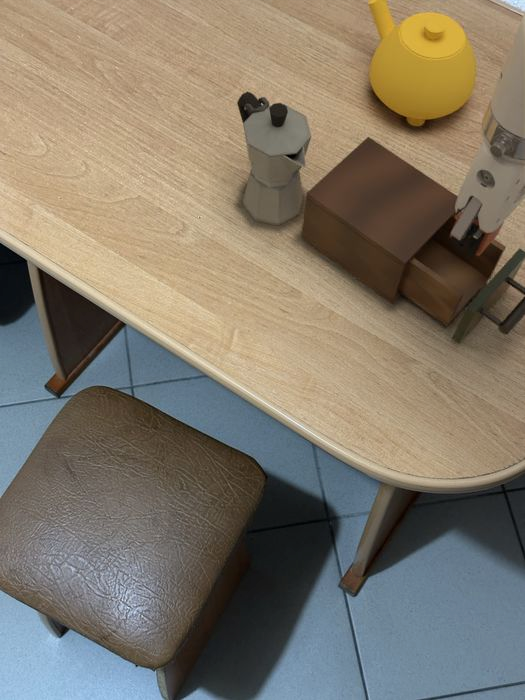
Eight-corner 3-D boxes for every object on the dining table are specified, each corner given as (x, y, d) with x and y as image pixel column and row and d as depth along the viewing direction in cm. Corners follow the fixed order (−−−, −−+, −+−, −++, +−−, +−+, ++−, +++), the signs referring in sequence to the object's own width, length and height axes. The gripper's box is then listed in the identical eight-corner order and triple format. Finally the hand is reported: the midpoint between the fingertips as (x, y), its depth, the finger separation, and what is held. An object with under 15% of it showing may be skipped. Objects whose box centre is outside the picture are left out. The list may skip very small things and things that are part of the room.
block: (498, 234, 95) (508, 213, 92) (478, 256, 94) (488, 235, 90) (468, 215, 97) (478, 193, 93) (449, 236, 95) (457, 215, 91)
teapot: (326, 71, 130) (335, -3, 118) (399, 28, 135) (415, -47, 122) (414, 151, 123) (434, 81, 111) (488, 103, 128) (515, 31, 115)
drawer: (537, 305, 110) (557, 273, 103) (487, 364, 106) (505, 334, 99) (421, 225, 116) (433, 189, 109) (369, 278, 111) (378, 244, 104)
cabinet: (448, 245, 115) (465, 201, 107) (392, 304, 111) (405, 263, 102) (358, 183, 120) (368, 136, 111) (301, 237, 115) (306, 192, 107)
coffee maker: (323, 218, 117) (337, 129, 101) (270, 245, 115) (276, 158, 99) (266, 147, 122) (270, 52, 106) (214, 172, 120) (211, 78, 104)
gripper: (510, 198, 75) (460, 301, 91) (603, 93, 81) (541, 208, 97) (441, 154, 77) (404, 263, 93) (537, 55, 83) (487, 174, 99)
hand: (474, 234), depth 95 cm, fingers closed on block, 4 cm apart
